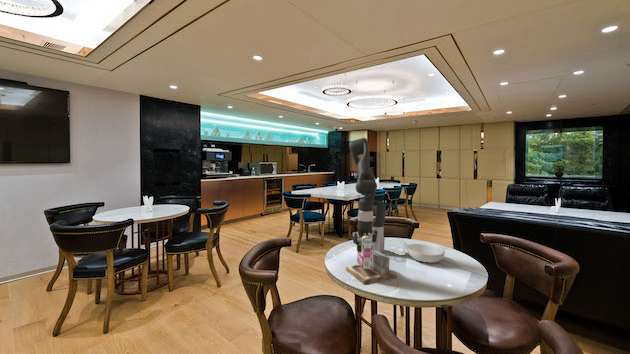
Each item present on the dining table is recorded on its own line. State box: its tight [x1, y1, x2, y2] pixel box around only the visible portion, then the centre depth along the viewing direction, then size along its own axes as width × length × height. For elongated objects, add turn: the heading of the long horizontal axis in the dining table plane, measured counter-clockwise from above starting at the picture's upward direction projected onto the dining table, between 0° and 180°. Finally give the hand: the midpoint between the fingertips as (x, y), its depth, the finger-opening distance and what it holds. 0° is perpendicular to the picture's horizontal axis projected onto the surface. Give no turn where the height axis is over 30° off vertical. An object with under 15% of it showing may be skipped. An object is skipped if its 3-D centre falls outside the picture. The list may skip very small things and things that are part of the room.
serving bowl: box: [406, 243, 446, 264], centre depth 157 cm, size 21×21×7 cm
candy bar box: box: [356, 235, 373, 270], centre depth 135 cm, size 11×5×16 cm, turn 5°
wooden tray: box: [345, 251, 398, 285], centre depth 137 cm, size 20×17×10 cm
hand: (364, 250), depth 135 cm, fingers closed on candy bar box, 6 cm apart
